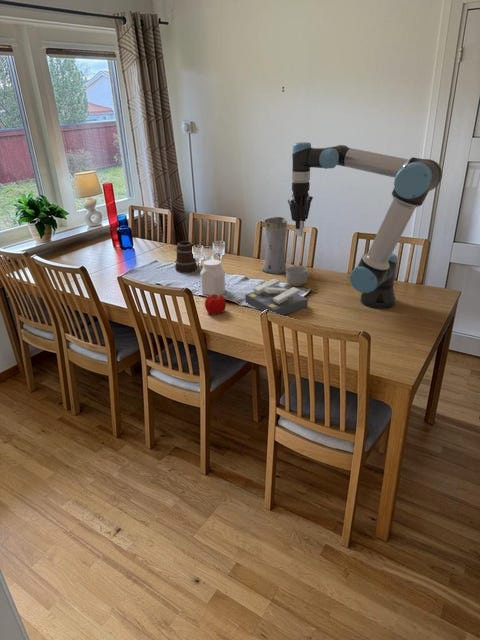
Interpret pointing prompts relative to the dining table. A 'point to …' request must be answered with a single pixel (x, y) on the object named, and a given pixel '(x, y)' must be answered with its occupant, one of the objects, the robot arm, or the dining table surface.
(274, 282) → the rocker
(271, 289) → the rocker
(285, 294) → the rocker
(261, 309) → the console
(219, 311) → the tomato
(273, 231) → the vase
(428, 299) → the dining table surface
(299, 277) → the teacup
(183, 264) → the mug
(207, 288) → the jar
